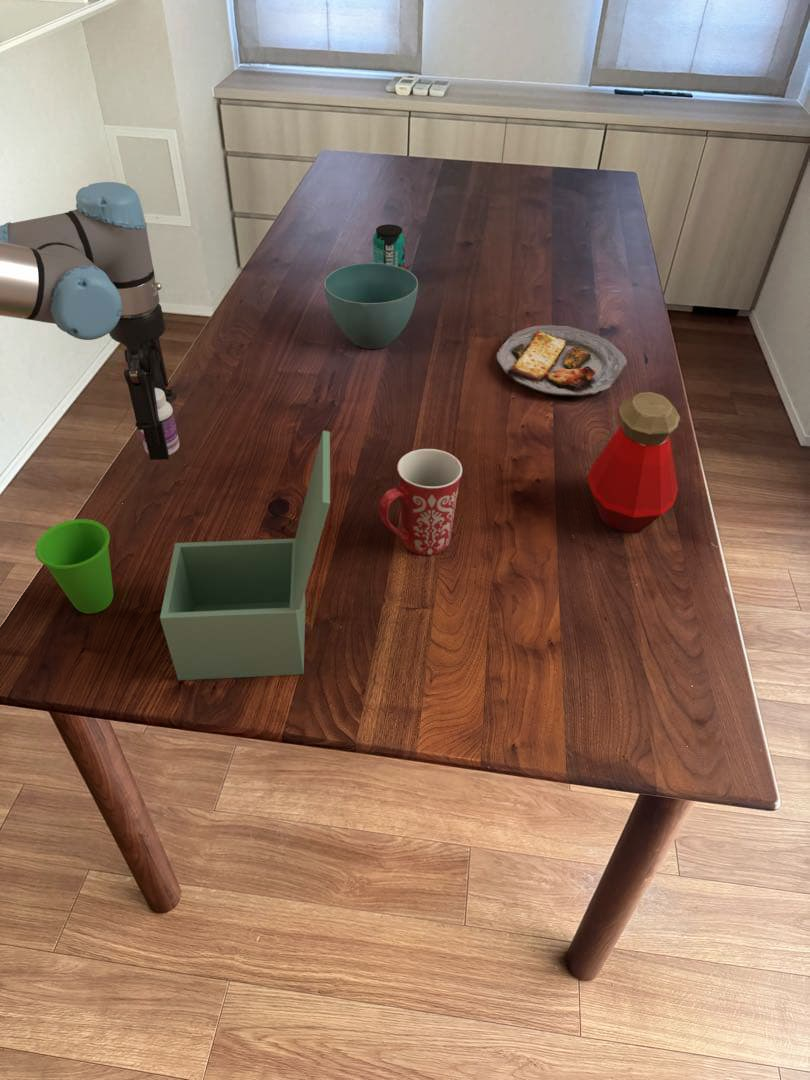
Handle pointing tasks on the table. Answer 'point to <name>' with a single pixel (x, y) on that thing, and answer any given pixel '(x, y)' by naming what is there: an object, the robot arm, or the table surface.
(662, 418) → the bottle
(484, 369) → the table surface
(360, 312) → the plant pot
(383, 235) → the beverage can
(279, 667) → the chest
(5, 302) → the robot arm
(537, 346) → the food plate
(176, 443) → the pill bottle
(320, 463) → the lid
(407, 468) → the mug
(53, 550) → the cup
